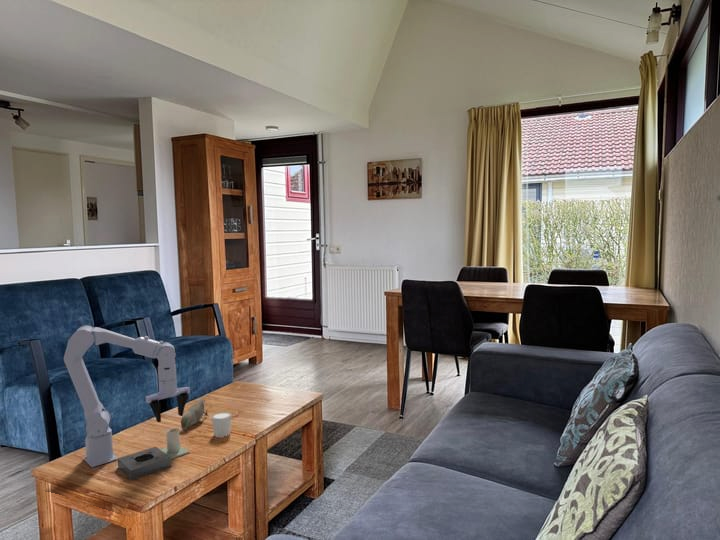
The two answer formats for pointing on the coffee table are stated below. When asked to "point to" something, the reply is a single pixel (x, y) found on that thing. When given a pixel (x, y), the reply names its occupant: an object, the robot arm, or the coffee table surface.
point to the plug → (173, 440)
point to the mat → (174, 455)
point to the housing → (144, 463)
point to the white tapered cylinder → (221, 424)
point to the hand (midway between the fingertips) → (169, 418)
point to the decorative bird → (193, 415)
